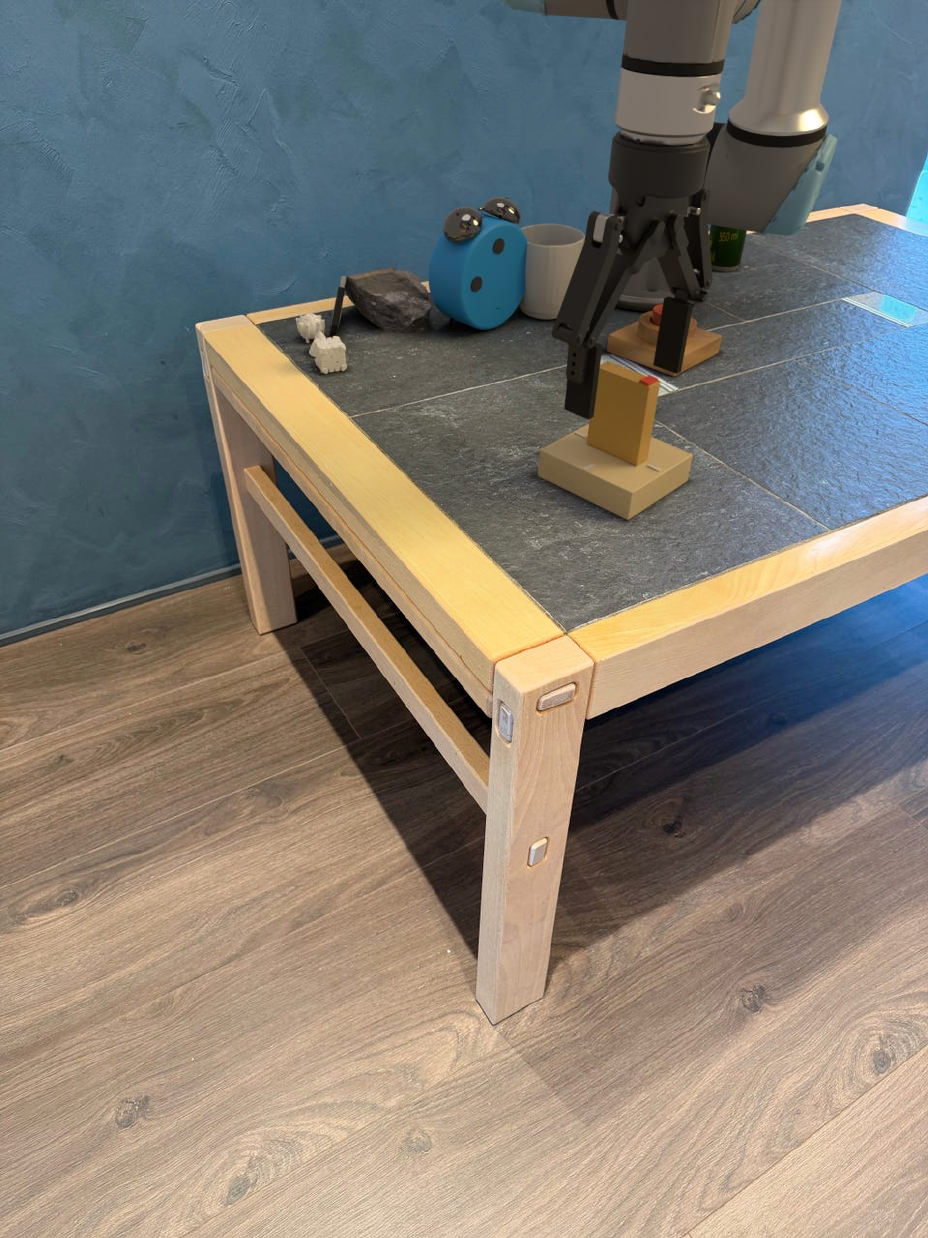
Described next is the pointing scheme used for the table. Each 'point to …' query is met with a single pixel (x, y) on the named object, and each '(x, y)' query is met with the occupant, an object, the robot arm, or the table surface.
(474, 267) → the alarm clock
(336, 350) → the game pieces
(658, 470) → the panel
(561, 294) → the mug
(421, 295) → the rock
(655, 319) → the button
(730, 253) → the beer can
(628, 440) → the lock knob
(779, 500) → the table surface
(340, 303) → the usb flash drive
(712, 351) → the button block
